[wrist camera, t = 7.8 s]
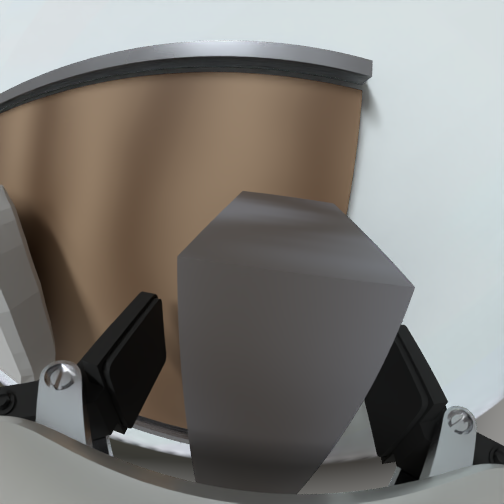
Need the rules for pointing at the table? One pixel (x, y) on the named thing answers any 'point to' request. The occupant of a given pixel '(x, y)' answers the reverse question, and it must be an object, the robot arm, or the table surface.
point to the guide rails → (195, 56)
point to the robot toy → (21, 303)
